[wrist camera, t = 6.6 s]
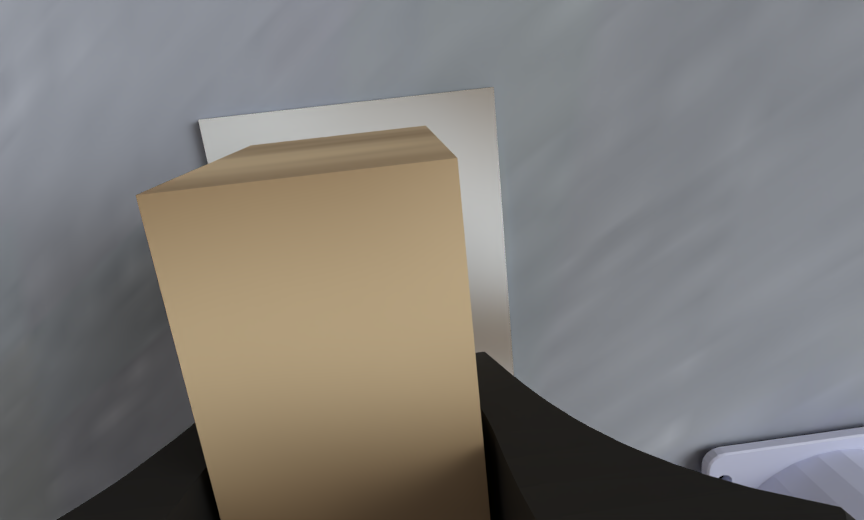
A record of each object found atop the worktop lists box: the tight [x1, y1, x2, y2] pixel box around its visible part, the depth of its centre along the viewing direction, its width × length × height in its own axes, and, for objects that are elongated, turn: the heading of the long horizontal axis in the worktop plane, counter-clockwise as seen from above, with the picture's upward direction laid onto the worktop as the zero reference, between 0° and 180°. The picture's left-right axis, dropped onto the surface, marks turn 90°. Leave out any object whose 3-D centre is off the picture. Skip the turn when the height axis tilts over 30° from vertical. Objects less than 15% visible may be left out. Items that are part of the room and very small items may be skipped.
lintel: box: [136, 126, 491, 520], centre depth 10 cm, size 10×3×5 cm, turn 6°
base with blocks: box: [198, 87, 514, 376], centre depth 14 cm, size 11×7×3 cm, turn 6°
